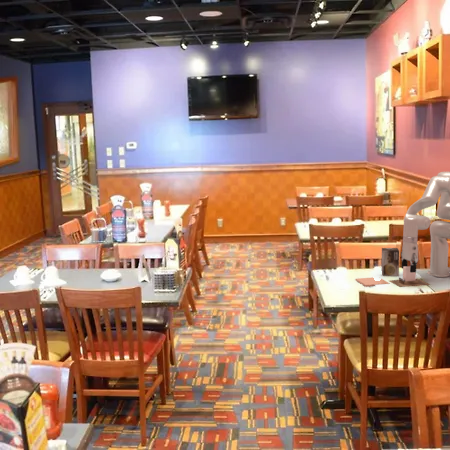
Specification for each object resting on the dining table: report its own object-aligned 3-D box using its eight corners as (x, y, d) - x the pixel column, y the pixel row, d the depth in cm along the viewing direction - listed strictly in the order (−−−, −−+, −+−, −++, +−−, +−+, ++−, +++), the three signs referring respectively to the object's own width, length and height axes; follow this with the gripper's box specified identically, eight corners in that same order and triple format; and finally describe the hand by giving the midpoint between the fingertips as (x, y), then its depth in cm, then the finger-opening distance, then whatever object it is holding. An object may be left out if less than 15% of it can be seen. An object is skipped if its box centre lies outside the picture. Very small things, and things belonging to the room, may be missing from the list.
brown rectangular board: (417, 279, 342) (417, 274, 341) (430, 286, 328) (430, 280, 328) (388, 282, 338) (388, 276, 338) (399, 288, 325) (400, 282, 324)
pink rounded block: (412, 281, 335) (413, 265, 334) (415, 283, 332) (415, 267, 331) (402, 282, 334) (403, 266, 332) (405, 283, 331) (405, 267, 330)
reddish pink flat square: (378, 278, 346) (378, 277, 346) (389, 285, 332) (389, 283, 332) (355, 280, 343) (355, 278, 343) (365, 286, 330) (365, 285, 329)
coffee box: (396, 274, 354) (397, 247, 351) (398, 277, 348) (399, 250, 345) (380, 274, 355) (381, 247, 352) (382, 277, 349) (383, 249, 346)
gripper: (424, 242, 321) (423, 273, 324) (408, 236, 338) (407, 266, 341) (411, 242, 320) (410, 274, 322) (396, 237, 337) (394, 267, 339)
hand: (408, 270), depth 331 cm, fingers open, 9 cm apart
